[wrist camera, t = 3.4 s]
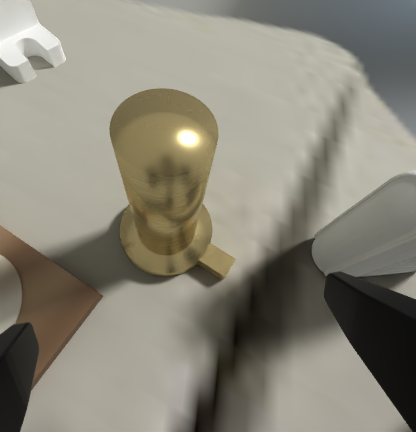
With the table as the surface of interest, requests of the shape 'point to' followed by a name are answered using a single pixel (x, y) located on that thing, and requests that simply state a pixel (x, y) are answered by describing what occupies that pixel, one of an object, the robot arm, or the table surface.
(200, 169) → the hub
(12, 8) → the white phone stand
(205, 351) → the table surface
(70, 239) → the table surface
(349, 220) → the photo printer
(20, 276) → the base plate
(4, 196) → the table surface
